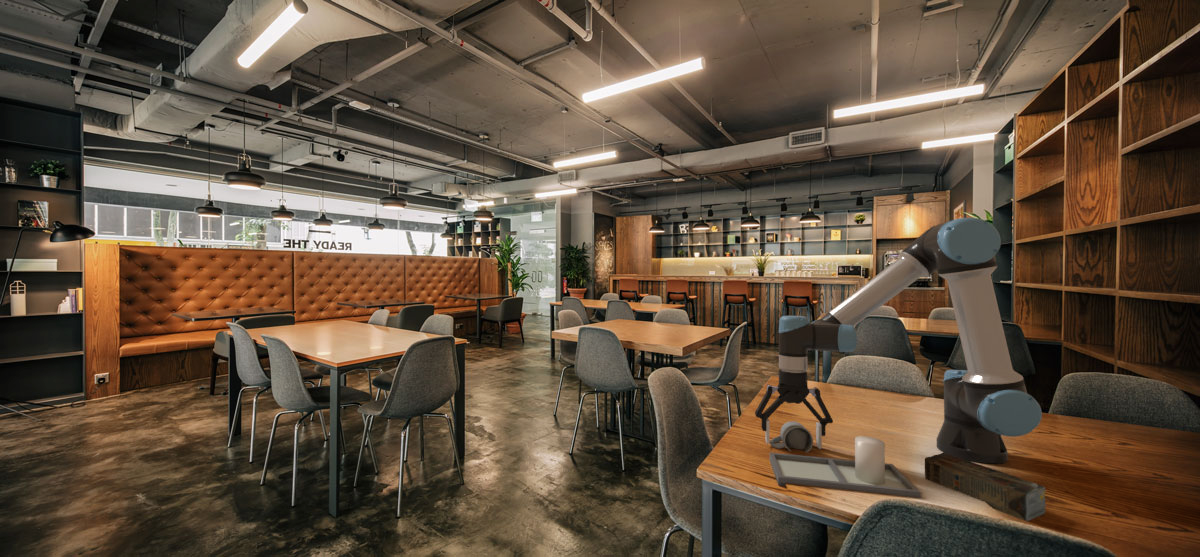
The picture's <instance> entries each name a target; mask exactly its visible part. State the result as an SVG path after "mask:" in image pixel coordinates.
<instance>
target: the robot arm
mask: <svg viewBox="0 0 1200 557" xmlns="http://www.w3.org/2000/svg"><path fill="white" fill-rule="evenodd" d="M1001 238H1002V237H1001V236H1000V233H999V231H998V230H997V228H996V227H995V226H994V225H993V224H991V222H988V221H986V220H984V219H981V218H977V217H961V218H955V219H953V220H948V221H946V222H943V223H939V224H937V225H934V226H932V227H930V228H929V229H926V230H925V231H924V232H922V233H921V235H919V236H918V237H917V238H916V239H915V240H913V241H912V242H911V243H910V244H909V245H907V246H906V247H905V248H904V249H903V250H902V251H900V252H899V254H898V256H899V257H898V259H896V260H895V261H894V262H892V263H891V264H889V265H888V266H887V267H885V268H884V269H882V270H881V271H880V272H879V273H878V274H877V275H875V276H874V277H873V278H871V279H870V280H868V281H867V282H866V283H865V284H863V285H862V286H861V287H859V288H858V289H857V290H856V291H854V292H853V293H852V294H850V295H849V296H848V297H847V298H845V299H843V301H841V302H840V303H838V304H837V305H836V306H835V307H834V308H832V309H831V310H830V311H828V312H827V313H826V314H825V315H823V316H822V317H821V318H818V319H815V320H814V321H812V322H809V321H808V320H809V319H808V317H807V316H802V315H782V316H781V317H780V318H779V320H778V368H779V370H778V385H777V386H773V385H771V384H767V385H766V392H765V394H764V395H763V397H762V399H761V401H760V403H759V404H758V406H757V408H756V410H755V412H754V415H755V417H756V418H759V419H761V429H762V431H763V432H765V434H764V435H765V437H764V440H765V444H768V445H770V419H769V418H770V417H771V416H772V414H774V412H776V411H777V410H778V408H779V407H780V406H781V405H783V404H784V403H785V402H786V403H787V404H798V405H799V404H801V403H803V405H805V406H806V408H807V409H808V410H809V411H810V412H811V414H812V415H813V416H814V417H815V418H816V420H818V422H817V421H816V423H815V428H816V429H815V436H816V438H815V442H816V444H815V445H816V447H817V448H818V449H819V450H820V449H822V444H823V443H822V437H825V436H826V426H827V424H833V423H834V420H833V417H832V416H831V414H830V412H829V410H828V408H827V406H826V405H825V403H824V400H823V398H822V397H821V395H822V394H821V390H820V389H819V388H818V387H816V386H815V387H813V388H809V387H808V351H823V352H824V351H825V352H838V353H839V352H840V353H845V352H846V353H852V352H855V350H856V349H857V345H858V333H857V329H856V326H857V325H858V324H859V323H861V322H862V321H863V320H865V319H866V318H867V317H869V316H871V314H872V313H874V312H876V311H877V310H878V309H879V308H881V307H883V305H885V304H886V303H888V302H889V301H890V300H892V299H893V298H894V297H896V296H897V295H898V294H899V293H902V292H903V291H904V290H905V289H907V288H908V287H909V286H911V285H912V284H913V283H914V282H916V281H917V280H918V279H920V278H921V277H923V278H924V277H925V278H928V277H929V276H931V275H932V274H934V273H935V272H936V271H937V274H938V276H939V277H941V278H942V279H944V280H946V281H947V285H948V290H949V294H950V298H951V302H952V308H953V312H954V316H955V320H956V325H957V329H958V333H959V338H960V343H961V347H962V352H963V355H964V360H965V364H966V369H946V370H945V372H944V374H943V379H942V381H943V382H942V383H943V422H942V426H940V429H939V432H938V433H937V434H938V435H937V437H936V448H937V449H938V450H939V451H941V452H942V453H946V454H949V455H952V456H956V457H959V458H962V459H964V460H967V461H970V462H975V463H976V462H977V463H984V464H1004V463H1008V462H1009V453H1008V452H1009V451H1008V450H1007V447H1006V444H1005V442H1004V439H1003V437H1010V438H1011V437H1014V438H1015V437H1022V436H1024V435H1027V434H1029V433H1031V432H1033V430H1034V429H1036V428H1038V426H1039V424H1040V423H1041V421H1042V417H1043V416H1042V415H1043V413H1042V411H1043V410H1042V408H1041V406H1040V404H1039V402H1038V401H1037V400H1036V399H1035V398H1034V397H1033V396H1032V395H1031V394H1029V393H1028V392H1027V388H1026V384H1025V379H1024V377H1023V375H1021V374H1020V373H1018V372H1017V371H1015V369H1013V368H1014V367H1013V365H1012V361H1011V356H1010V352H1009V347H1008V344H1007V339H1006V334H1005V330H1004V326H1003V321H1002V318H1001V313H1000V310H999V306H998V301H997V297H996V292H995V289H994V285H993V284H994V283H993V280H992V273H994V271H996V269H997V268H998V265H997V260H996V255H997V253H998V252H999V250H1000V248H1001V244H1002V242H1001V241H1002V239H1001ZM776 392H777V393H778V394H779V395H778V397H776V399H775V400H774V401H773V402H772V403H771V404H770V405H769V406H768V408H766V406H767V405H768V403H769V401H770V399H771V398H772V395H773V394H775V393H776ZM809 394H811V396H812V397H814V399H815V400H816V403H817V404H818V407H819V408H820V411H821V412H822V414H823V416H824V417H822V416H821V415H820V413H818V411H817V410H816V409H815V407H813V405H812V404H811V403H810V402H809V401H808V400H807V398H808V396H809ZM765 409H766V410H765ZM1002 436H1003V437H1002Z"/></svg>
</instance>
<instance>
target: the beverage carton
mask: <svg viewBox="0 0 1200 557" xmlns="http://www.w3.org/2000/svg"><path fill="white" fill-rule="evenodd" d="M924 479H925V481H926V480H927V481H929V482H931V483H934V484H937V485H939V486H942V487H945V488H947V489H950V490H953V491H954V492H958V493H961V494H963V495H965V496H968V497H971V498H973V499H976V500H979V501H981V502H984V503H985V504H987V505H988V506H989V507H991V508H992V509H994V510H996V511H999V512H1001V513H1005V514H1007V515H1010V516H1012V517H1015V518H1017V519H1019V520H1023V521H1025V522H1029V521H1031V520H1034V519H1035V518H1037V517H1038V518H1039V517H1040V516H1042V515H1044V514H1045V513H1046V496H1045V495H1046V487H1045V486H1043V485H1041V484H1038V483H1036V482H1033V481H1030V480H1025V479H1023V478H1021V477H1017V476H1014V475H1011V474H1008V473H1005V472H1002V471H1001V470H998V469H994V468H990V467H988V466H985V465H982V464H979V463H976V462H974V461H971V460H966V459H962V458H959V457H956V456H952V455H950V454H947V453H945V452H941V453H938V454H934V455H932V456H928V457H925V458H924Z"/></svg>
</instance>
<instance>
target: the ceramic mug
mask: <svg viewBox="0 0 1200 557" xmlns="http://www.w3.org/2000/svg"><path fill="white" fill-rule="evenodd" d="M769 445H770V446H771V447H772V448H775V449H778V450H779V449H780V450H781V449H784V448H786V449H787V450H788V451H789V452H792V449H795V450H801V451H803V450H804V453H809V452H811V450H812V448H813V447H814V446H813V445H814V438H813V435H812V433H811V432H810V430H809V429H807V428H806V427H805V426H804V425H803V424H802V423H800V422H798V421H793V420H792V421H787V422H784V424H783V425H782V426H781V428H780V435H778V436H776V437H775V436H774V437H773V438H772V439H770V440H769Z"/></svg>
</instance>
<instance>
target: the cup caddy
mask: <svg viewBox="0 0 1200 557" xmlns="http://www.w3.org/2000/svg"><path fill="white" fill-rule="evenodd" d="M769 462H770V465H771V468H772V471H773V473H774V477H775V479H776V482H777V486H778V487H779V486H780V487H787V484H789V485H797V486H798V485H799V486H808V487H818V488H825V489H826V488H827V489H835V490H846V491H855V492H863V493H870V494H871V493H873V494H879V495H880V494H882V495H892V496H900V497H909V498H918V499H921V498H922V491H921V490H919V489H918V488H917V487H916V486H915V485H914V484H913V483H912V482H911V481H910V480H909V478H907V477H906V476H905V475H904V474H903V473H902V472H901V471H900V470H899V469H898V468H897V467H896V466H895V465H894V464H892V463H885V483H884V484H870V483H866V482H863V481H861V480H859V479H857V478H856V477H855V459H854V460H851V459H844V458H843V459H842V458H832V457H821V456H820V457H819V456H810V455H799V454H791V453H790V454H789V453H778V452H769Z"/></svg>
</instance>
